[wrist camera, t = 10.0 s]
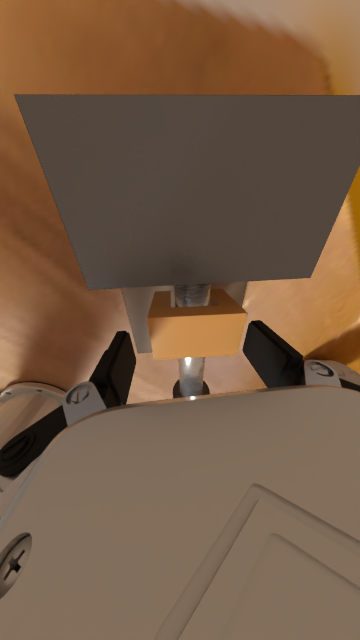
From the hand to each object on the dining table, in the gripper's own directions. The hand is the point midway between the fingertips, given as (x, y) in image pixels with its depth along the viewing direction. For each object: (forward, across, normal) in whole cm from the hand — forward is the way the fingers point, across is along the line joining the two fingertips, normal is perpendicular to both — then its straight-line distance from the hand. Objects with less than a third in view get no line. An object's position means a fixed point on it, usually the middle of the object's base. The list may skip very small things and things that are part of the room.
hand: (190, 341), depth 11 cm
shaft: (+5, -1, +4) cm, 7 cm away
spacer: (+5, -1, 0) cm, 5 cm away
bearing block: (+9, -1, -8) cm, 12 cm away
